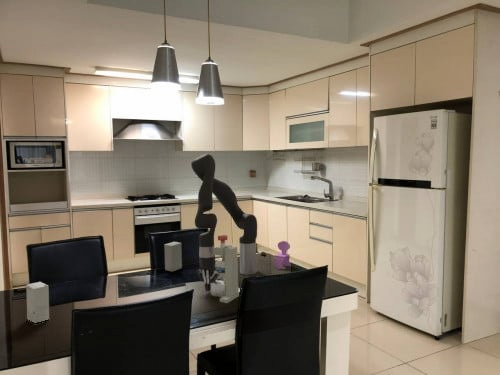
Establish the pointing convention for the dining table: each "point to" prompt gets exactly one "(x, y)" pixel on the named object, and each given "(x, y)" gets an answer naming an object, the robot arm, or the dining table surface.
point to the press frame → (229, 272)
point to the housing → (218, 288)
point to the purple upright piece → (282, 255)
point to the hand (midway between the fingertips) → (208, 290)
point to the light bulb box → (222, 273)
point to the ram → (222, 261)
